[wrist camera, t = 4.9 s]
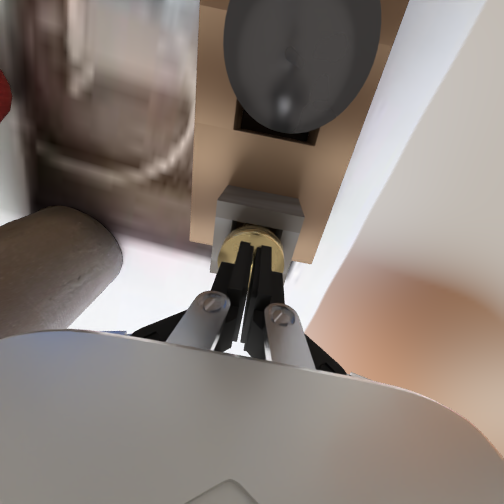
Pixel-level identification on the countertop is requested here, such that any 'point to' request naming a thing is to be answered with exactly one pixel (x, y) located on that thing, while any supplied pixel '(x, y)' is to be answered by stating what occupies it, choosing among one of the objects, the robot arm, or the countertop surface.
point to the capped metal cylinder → (299, 58)
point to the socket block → (269, 153)
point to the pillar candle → (53, 268)
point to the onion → (4, 96)
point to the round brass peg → (257, 238)
